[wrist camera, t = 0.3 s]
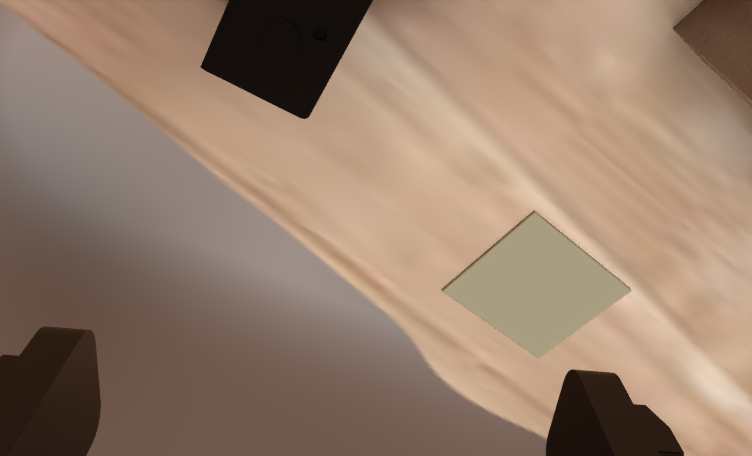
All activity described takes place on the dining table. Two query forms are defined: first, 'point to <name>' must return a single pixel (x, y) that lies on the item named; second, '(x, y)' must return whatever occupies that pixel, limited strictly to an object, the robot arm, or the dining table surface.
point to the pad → (536, 286)
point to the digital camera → (283, 47)
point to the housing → (723, 40)
